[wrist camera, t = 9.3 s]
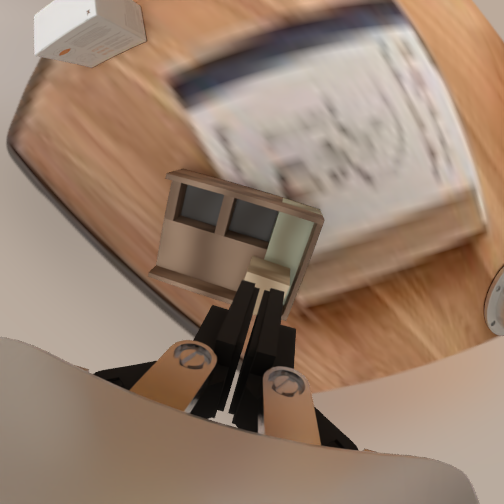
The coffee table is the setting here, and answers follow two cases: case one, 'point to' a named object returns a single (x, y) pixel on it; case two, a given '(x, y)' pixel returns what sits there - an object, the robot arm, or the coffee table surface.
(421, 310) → the coffee table surface
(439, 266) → the coffee table surface
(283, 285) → the birch block
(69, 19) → the small box
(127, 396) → the robot arm
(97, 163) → the coffee table surface
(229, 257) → the box
